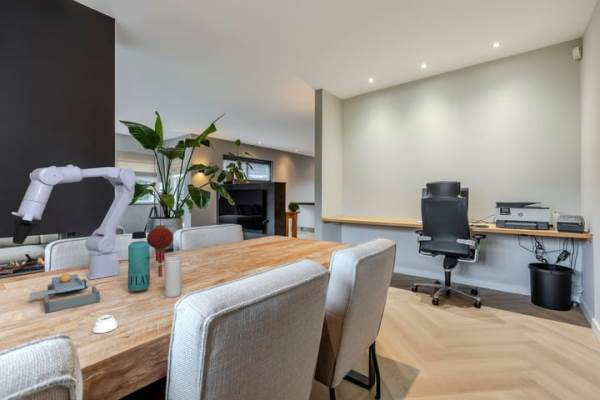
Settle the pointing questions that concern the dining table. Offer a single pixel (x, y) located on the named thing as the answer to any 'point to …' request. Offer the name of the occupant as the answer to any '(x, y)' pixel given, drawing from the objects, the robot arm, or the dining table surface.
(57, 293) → the stand
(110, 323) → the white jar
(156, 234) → the lantern
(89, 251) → the robot arm
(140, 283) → the beverage bottle
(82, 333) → the dining table surface
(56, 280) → the blue-grey piece
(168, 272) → the beverage can
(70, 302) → the dish
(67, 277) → the ball
